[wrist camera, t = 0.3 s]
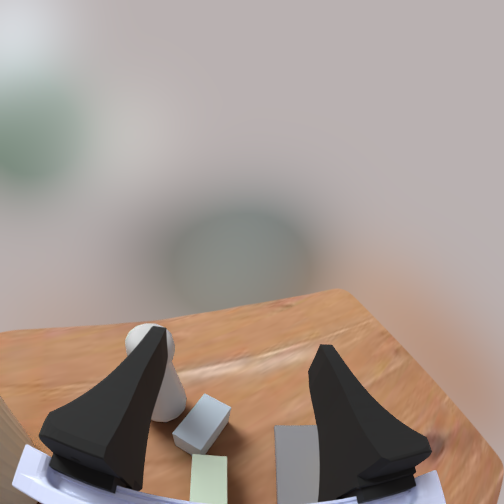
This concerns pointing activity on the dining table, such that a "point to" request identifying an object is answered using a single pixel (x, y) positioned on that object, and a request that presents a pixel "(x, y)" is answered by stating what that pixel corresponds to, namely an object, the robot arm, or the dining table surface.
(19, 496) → the canister
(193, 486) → the green brick
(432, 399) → the dining table surface
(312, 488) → the felt mat
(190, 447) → the slate brick
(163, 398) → the salt shaker
